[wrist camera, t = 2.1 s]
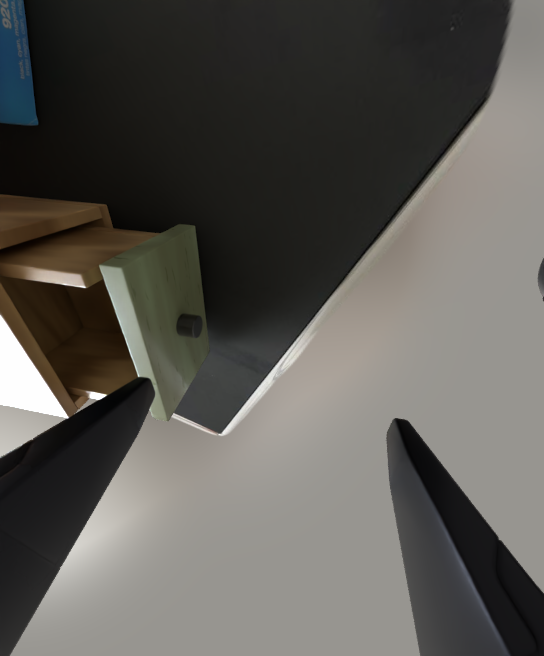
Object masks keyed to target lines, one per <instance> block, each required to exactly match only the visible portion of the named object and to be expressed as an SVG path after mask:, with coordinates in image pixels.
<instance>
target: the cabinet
mask: <svg viewBox="0 0 544 656" xmlns="http://www.w3.org/2000/svg"><path fill="white" fill-rule="evenodd" d="M78 225H87V226H96V227H105V228H113V225H112V222H111V218H110V215H109V211H108V208H107V205H105V204H95V203H85V202H74V201H64V200H54V199H44V198H33V197H23V196H13V195H2V194H0V249H3V248H6V247H9V246H13V245H16V244H19V243H23V242H26V241H29V240H32V239H36V238H39V237H42V236H45V235H49V234H52V233H55V232H58V231H62V230H65V229H68V228H71V227H75V226H78ZM88 399H89V398H88V397H83V396H78V395H73V394H68V393H67V391H66V389H65V388H64V386H63V384H62V383H61V381H60V380H59V378H58V376H57V375H56V373H55V371H54V370H53V368H52V366H51V365H50V363H49V362H48V360H47V358H46V357H45V355H44V353H43V352H42V350H41V348H40V347H39V345H38V343H37V342H36V340H35V339H34V337H33V335H32V334H31V332H30V330H29V329H28V327H27V325H26V324H25V322H24V321H23V319H22V317H21V316H20V314H19V312H18V311H17V309H16V307H15V306H14V304H13V302H12V301H11V299H10V298H9V296H8V294H7V293H6V291H5V289H4V288H3V286H2V284H1V283H0V404H3V405H8V406H12V407H18V408H22V409H27V410H32V411H37V412H41V413H46V414H51V415H56V416H61V417H66V418H69V417H71V416H72V415H74V413H76V412H77V410H78V409H80V408H81V407H82V406H83V404H85V403H86V401H87V400H88Z"/></svg>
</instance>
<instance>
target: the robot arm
mask: <svg viewBox="0 0 544 656" xmlns="http://www.w3.org/2000/svg"><path fill="white" fill-rule="evenodd" d="M543 301H544V297H543ZM154 398H155V390H154V387H153V384H152V381H151V379H150V378H147V377H137V378H136V379H134V380H132V381H130V382H129V383H127V384H125V385H124V386H122V387H120V388H118V389H117V390H115V391H113V392H112V393H110V394H108V395H106V396H105V397H103V398H101V399H100V400H98V401H96V402H94V403H93V404H91V405H89V406H88V407H86V408H84V409H83V410H81V411H79V412H77V413H76V414H74V415H72V416H71V417H69V418H67V419H65V420H64V421H62V422H60V423H59V424H57V425H55V426H53V427H52V428H50V429H48V430H47V431H45V432H43V433H41V434H40V435H38V436H37V437H35V438H33V440H30V441H28V442H26V443H25V444H22V445H21V446H19V447H17V448H16V449H14V450H12V451H10V452H9V453H7V454H5V455H3V456H1V457H0V656H10V654H11V653H12V651H13V649H14V647H15V646H16V644H17V642H18V641H19V639H20V637H21V635H22V634H23V632H24V630H25V628H26V627H27V625H28V623H29V622H30V620H31V618H32V617H33V615H34V613H35V611H36V610H37V608H38V606H39V604H40V603H41V601H42V599H43V598H44V596H45V594H46V592H47V590H48V589H49V587H50V586H51V584H52V582H53V580H54V579H55V577H56V575H57V573H58V572H59V570H60V567H61V566H62V564H63V563H64V561H65V559H66V558H67V556H68V554H69V552H70V551H71V549H72V547H73V546H74V544H75V542H76V540H77V539H78V537H79V535H80V533H81V532H82V530H83V528H84V527H85V525H86V523H87V521H88V520H89V518H90V516H91V514H92V513H93V511H94V509H95V508H96V506H97V504H98V502H99V501H100V499H101V497H102V495H103V494H104V492H105V490H106V488H107V487H108V485H109V483H110V482H111V480H112V478H113V477H114V475H115V473H116V471H117V469H118V468H119V466H120V464H121V463H122V461H123V459H124V458H125V456H126V454H127V452H128V451H129V449H130V447H131V446H132V444H133V442H134V440H135V438H136V437H137V435H138V433H139V431H140V429H141V427H142V425H143V422H144V420H145V418H146V416H147V414H148V411H149V409H150V407H151V405H152V403H153V400H154ZM387 452H388V467H389V481H390V489H391V495H392V500H393V506H394V512H395V517H396V523H397V528H398V534H399V540H400V545H401V550H402V556H403V562H404V568H405V573H406V578H407V584H408V590H409V595H410V601H411V606H412V612H413V617H414V622H415V629H416V634H417V639H418V645H419V651H420V656H544V593H543V592H542V591H541V590H540V588H539V587H538V586H537V585H536V584H535V583H534V581H533V580H532V579H531V578H530V576H529V575H528V574H527V573H526V572H525V570H524V569H523V568H522V566H521V565H520V564H519V563H518V561H517V560H516V559H515V558H514V556H513V555H512V554H511V553H510V551H509V550H508V549H507V547H506V546H505V545H504V544H503V542H502V541H501V540H499V538H498V536H497V535H496V533H495V532H494V531H493V530H492V528H491V527H490V526H489V524H488V523H487V522H486V520H485V519H484V518H483V517H482V515H481V514H480V513H479V511H478V510H477V509H476V508H475V506H474V505H473V504H472V503H471V501H470V500H469V499H468V497H467V496H466V495H465V493H464V492H463V491H462V490H461V488H460V487H459V486H458V484H457V483H456V482H455V481H454V479H453V478H452V477H451V475H450V474H449V473H448V472H447V470H446V469H445V468H444V467H443V465H442V464H441V462H440V461H439V460H438V459H437V457H436V456H435V455H434V453H433V452H432V451H431V450H430V448H429V447H428V446H427V444H426V443H425V442H424V441H423V439H422V438H421V437H420V435H419V434H418V433H417V432H416V430H415V429H414V428H413V427H412V425H411V424H410V423H409V422H408V421H407V420H404V419H398V418H395V419H394V420H393V421H392V423H391V425H390V427H389V429H388V432H387Z"/></svg>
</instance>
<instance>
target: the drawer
mask: <svg viewBox="0 0 544 656" xmlns="http://www.w3.org/2000/svg"><path fill="white" fill-rule="evenodd" d="M0 283H1V284H2V286H3V288H4V289H5V291H6V293H7V294H8V296H9V298H10V299H11V301H12V302H13V304H14V306H15V307H16V309H17V311H18V312H19V314H20V316H21V317H22V319H23V321H24V322H25V324H26V325H27V327H28V329H29V330H30V332H31V334H32V335H33V337H34V339H35V340H36V342H37V343H38V345H39V347H40V348H41V350H42V352H43V353H44V355H45V357H46V358H47V360H48V362H49V363H50V365H51V366H52V368H53V370H54V371H55V373H56V375H57V376H58V378H59V380H60V381H61V383H62V384H63V386H64V388H65V389H66V391H67V393H68V394H73V395H78V396H83V397H88V398H94V399H99V400H100V399H101V398H103V397H105V396H106V395H108V394H110V393H112V392H113V391H115V390H117V389H118V388H120V387H122V386H124V385H125V384H127V383H129V382H130V381H132V380H134V379H136V378H137V377H147V378H150V379H151V381H152V384H153V387H154V390H155V398H154V400H153V403H152V405H151V407H150V411H151V414H152V417H153V418H154V419H159V420H164V421H169V420H170V418H171V416H172V414H173V413H174V411H175V409H176V408H177V406H178V404H179V403H180V401H181V399H182V397H183V396H184V394H185V392H186V391H187V389H188V387H189V386H190V384H191V382H192V380H193V379H194V377H195V375H196V374H197V372H198V370H199V369H200V367H201V365H202V363H203V362H204V360H205V358H206V357H207V355H208V353H209V351H210V350H209V341H208V333H207V324H206V316H205V307H204V298H203V290H202V281H201V273H200V264H199V256H198V247H197V238H196V230H195V226H193V225H184V224H179V225H177V226H175V227H173V228H171V229H169V230H167V231H165V232H163V233H161V234H160V233H151V232H142V231H133V230H123V229H114V228H105V227H96V226H87V225H78V226H75V227H71V228H68V229H65V230H62V231H58V232H55V233H52V234H49V235H45V236H42V237H39V238H36V239H32V240H29V241H26V242H23V243H19V244H16V245H13V246H9V247H6V248H3V249H0Z"/></svg>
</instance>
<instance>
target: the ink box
mask: <svg viewBox="0 0 544 656" xmlns="http://www.w3.org/2000/svg"><path fill="white" fill-rule="evenodd" d="M0 123H6V124H16V125H27V126H35V125H38V119H37V116H36V109H35V99H34V91H33V80H32V71H31V62H30V53H29V46H28V36H27V26H26V18H25V10H24V1H23V0H0Z"/></svg>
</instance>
